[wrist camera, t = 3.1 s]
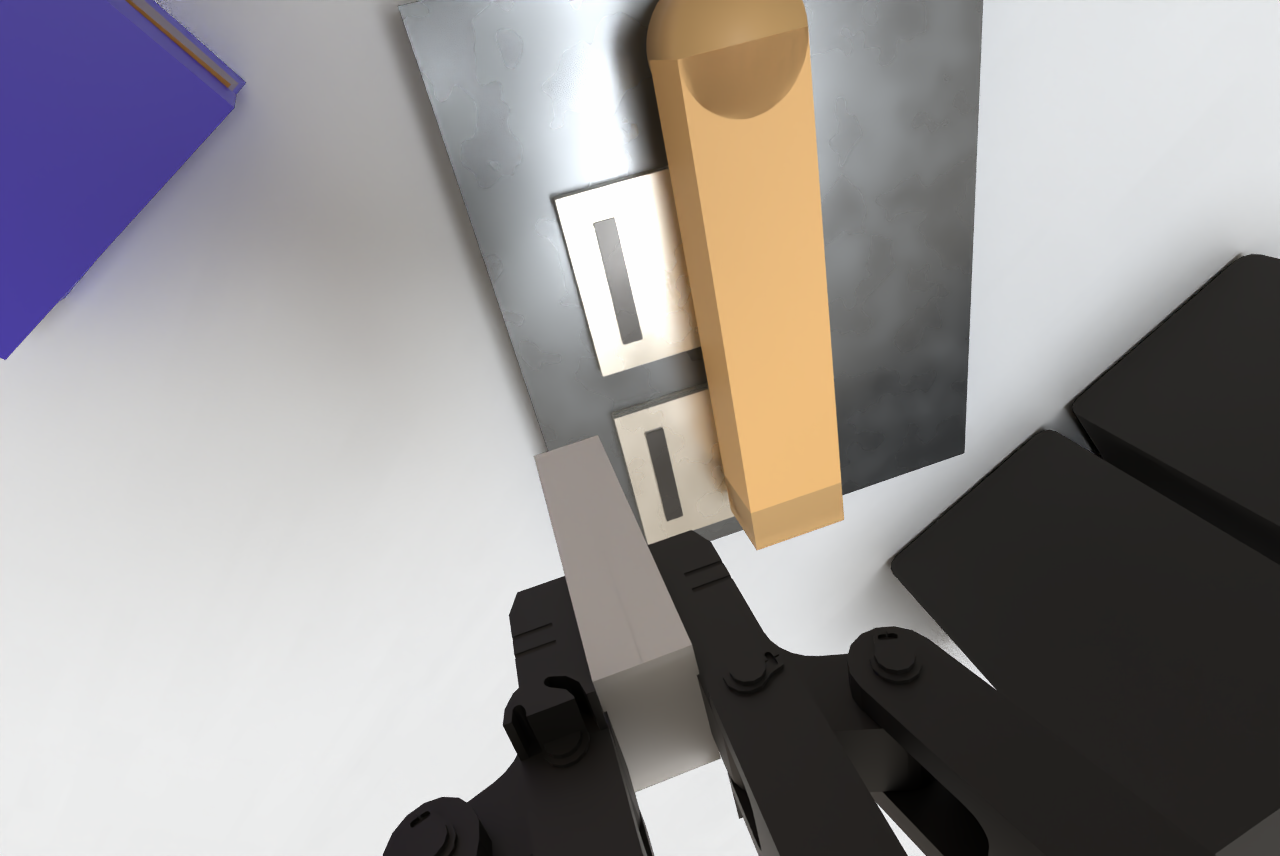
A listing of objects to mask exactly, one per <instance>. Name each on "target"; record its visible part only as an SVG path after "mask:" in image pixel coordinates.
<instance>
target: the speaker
mask: <svg viewBox="0 0 1280 856" xmlns="http://www.w3.org/2000/svg"><path fill="white" fill-rule="evenodd" d="M1073 411H1074V413H1075V414H1076V416H1077V417H1078V419H1079V421H1080V422H1081V424H1082V425H1083V427H1084V429H1085V430H1086V432H1087V433H1088V435H1089V436H1090V438H1091V440H1092V441H1093V443H1094V444H1095V446H1096V448H1097V449H1098V451H1099V452H1100V454H1101V456H1102V457H1103V459H1104V460H1103V459H1101V458H1100V457H1098V456H1096V455H1095V454H1093V453H1091V452H1090V451H1088V450H1086V449H1085V448H1083V447H1081V446H1080V445H1078V444H1076V443H1075V442H1073V441H1071V440H1070V439H1068V438H1066V437H1065V436H1063V435H1061V434H1060V433H1058V432H1056V431H1052V430H1046V431H1042V432H1040V433H1038V434H1036V435H1035V436H1034V437H1033V438H1032V439H1030V440H1029V441H1028V442H1027V443H1026V444H1025V445H1024V446H1022V447H1021V448H1020V449H1019V450H1018V451H1017V452H1015V453H1014V454H1013V455H1012V456H1011V457H1010V458H1009V459H1007V460H1006V461H1005V462H1004V463H1003V464H1002V465H1001V466H999V467H998V468H997V469H996V470H995V471H994V472H993V473H991V474H990V475H989V476H988V477H987V478H986V479H985V480H983V481H982V482H981V483H980V484H979V485H978V486H977V487H975V488H974V489H973V490H972V491H971V492H970V493H969V494H967V495H966V496H965V497H964V498H963V499H962V500H960V501H959V502H958V503H957V504H956V505H955V506H954V507H952V508H951V509H950V510H949V511H948V512H947V513H946V514H944V515H943V516H942V517H941V518H940V519H939V520H938V521H936V522H935V523H934V524H933V525H932V526H931V527H930V528H928V529H927V530H926V531H925V532H924V533H923V534H922V535H920V536H919V537H918V538H917V539H916V540H915V541H914V542H912V543H911V544H910V545H909V546H908V547H907V548H905V549H904V550H903V551H902V552H901V553H900V554H899V555H897V556H896V557H895V559H894V560H893V561H892V564H891V570H892V572H893V574H894V575H895V576H896V577H897V578H898V580H899V581H900V582H901V583H902V584H903V585H904V586H905V587H906V589H907V590H908V591H909V592H910V593H911V594H912V595H913V596H914V598H915V599H916V600H917V601H918V602H919V603H920V604H921V605H922V607H923V608H924V609H925V610H926V611H927V612H928V613H929V614H930V616H931V617H932V618H933V619H934V620H935V621H936V622H937V623H938V625H939V626H940V627H941V628H942V629H943V630H944V631H945V632H946V634H947V635H948V636H949V637H950V638H951V639H952V640H953V641H954V643H955V644H956V645H957V646H958V647H959V648H960V649H961V650H962V652H963V653H964V654H965V655H966V656H967V657H968V658H969V659H970V661H971V662H972V663H973V664H974V665H975V666H976V667H977V669H978V670H979V671H980V672H981V673H982V674H983V675H984V676H985V678H986V679H987V680H988V681H989V682H990V683H991V684H992V685H993V687H994V688H995V689H996V690H997V691H998V692H999V693H1001V694H1002V695H1003V696H1005V697H1006V698H1007V699H1009V700H1010V701H1011V702H1013V703H1014V704H1015V705H1017V706H1018V707H1019V708H1021V709H1022V710H1023V711H1025V712H1026V713H1027V714H1029V715H1030V716H1031V717H1033V718H1034V719H1035V720H1037V721H1038V722H1039V723H1041V724H1042V725H1043V726H1045V727H1046V728H1047V729H1049V730H1050V731H1051V732H1053V733H1054V734H1055V735H1057V736H1058V737H1059V738H1061V739H1062V740H1063V741H1065V742H1066V743H1067V744H1069V745H1070V746H1071V747H1073V748H1074V749H1075V750H1077V751H1078V752H1079V753H1080V754H1082V755H1083V756H1084V757H1086V758H1087V759H1088V760H1090V761H1091V762H1092V763H1094V764H1095V765H1096V766H1098V767H1099V768H1100V769H1102V770H1103V771H1104V772H1106V773H1107V774H1108V775H1110V776H1111V777H1112V778H1114V779H1115V780H1116V781H1118V782H1119V783H1120V784H1122V785H1123V786H1124V787H1126V788H1127V789H1128V790H1130V791H1131V792H1132V793H1134V794H1135V795H1136V796H1138V797H1139V798H1140V799H1142V800H1143V801H1144V802H1146V803H1147V804H1148V805H1150V806H1151V807H1152V808H1154V809H1155V810H1156V811H1158V812H1159V813H1160V814H1162V815H1163V816H1164V817H1166V818H1167V819H1168V820H1169V821H1171V822H1172V823H1173V824H1175V825H1176V826H1177V827H1179V828H1180V829H1181V830H1183V831H1184V832H1185V833H1187V834H1188V835H1189V836H1191V837H1192V838H1193V839H1195V840H1196V841H1197V842H1199V843H1200V844H1201V845H1203V846H1204V847H1205V848H1207V849H1208V850H1209V851H1211V852H1212V853H1213V854H1215V855H1216V856H1280V259H1277V258H1273V257H1269V256H1265V255H1259V254H1251V255H1247V256H1243V257H1241V258H1239V259H1238V260H1236V261H1234V262H1233V263H1232V264H1231V265H1230V266H1229V267H1227V268H1226V269H1225V270H1224V271H1223V272H1222V273H1221V274H1219V275H1218V276H1217V277H1216V278H1215V279H1214V280H1213V281H1211V282H1210V283H1209V284H1208V285H1207V286H1206V287H1205V288H1203V289H1202V290H1201V291H1200V292H1199V293H1198V294H1197V295H1195V296H1194V297H1193V298H1192V299H1191V300H1190V301H1188V302H1187V303H1186V304H1185V305H1184V306H1183V307H1182V308H1180V309H1179V310H1178V311H1177V312H1176V313H1175V314H1174V315H1172V316H1171V317H1170V318H1169V319H1168V320H1167V321H1166V322H1164V323H1163V324H1162V325H1161V326H1160V327H1159V328H1158V329H1156V330H1155V331H1154V332H1153V333H1152V334H1151V335H1150V336H1148V337H1147V338H1146V339H1145V340H1144V341H1143V342H1142V343H1140V344H1139V345H1138V346H1137V347H1136V348H1135V349H1133V350H1132V351H1131V352H1130V353H1129V354H1128V355H1127V356H1125V357H1124V358H1123V359H1122V360H1121V361H1120V362H1119V363H1117V364H1116V365H1115V366H1114V367H1113V368H1112V369H1111V370H1109V371H1108V372H1107V373H1106V374H1105V375H1104V376H1103V377H1101V378H1100V379H1099V380H1098V381H1097V382H1096V383H1095V384H1093V385H1092V386H1091V387H1090V388H1089V389H1088V390H1087V391H1085V392H1084V393H1083V394H1082V395H1081V396H1080V397H1078V398H1077V399H1076V401H1075V402H1074V404H1073Z"/></svg>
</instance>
